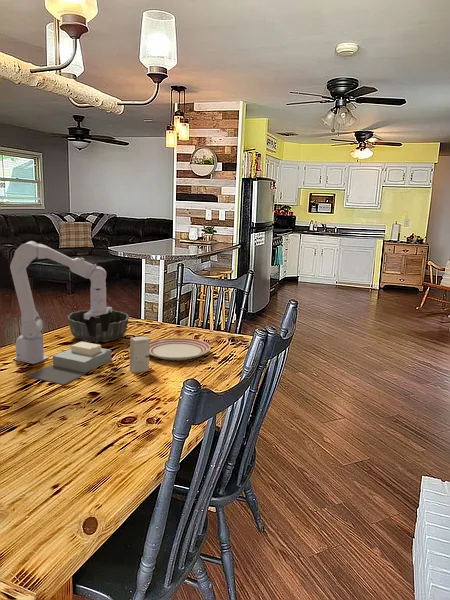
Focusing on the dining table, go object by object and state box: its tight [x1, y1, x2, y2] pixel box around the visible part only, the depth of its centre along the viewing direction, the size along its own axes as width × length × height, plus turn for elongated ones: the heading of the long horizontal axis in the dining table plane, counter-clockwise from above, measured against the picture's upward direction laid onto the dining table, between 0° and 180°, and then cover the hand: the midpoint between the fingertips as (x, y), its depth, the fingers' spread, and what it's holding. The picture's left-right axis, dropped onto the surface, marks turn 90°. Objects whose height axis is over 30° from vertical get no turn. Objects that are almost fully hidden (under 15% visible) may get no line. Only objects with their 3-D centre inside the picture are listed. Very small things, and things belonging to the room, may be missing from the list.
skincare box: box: [129, 336, 151, 374], centre depth 169 cm, size 6×4×12 cm
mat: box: [25, 364, 88, 386], centre depth 162 cm, size 16×12×1 cm
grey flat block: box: [52, 347, 112, 373], centre depth 174 cm, size 14×16×4 cm
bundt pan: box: [66, 309, 130, 344], centre depth 206 cm, size 26×26×10 cm
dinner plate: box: [149, 337, 211, 362], centre depth 191 cm, size 27×27×3 cm
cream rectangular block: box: [70, 341, 102, 355], centre depth 175 cm, size 9×6×2 cm, turn 68°
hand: (98, 333), depth 178 cm, fingers open, 7 cm apart
